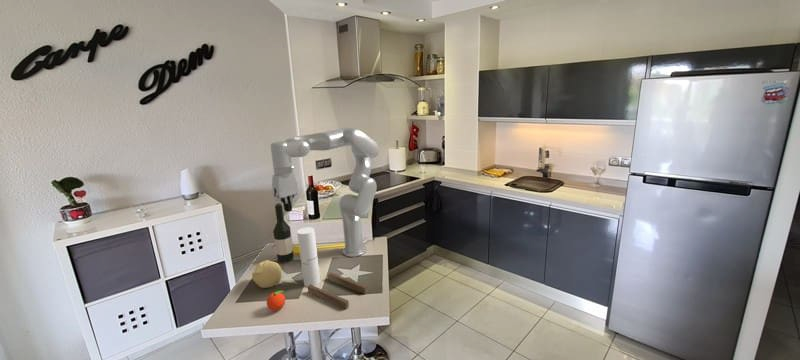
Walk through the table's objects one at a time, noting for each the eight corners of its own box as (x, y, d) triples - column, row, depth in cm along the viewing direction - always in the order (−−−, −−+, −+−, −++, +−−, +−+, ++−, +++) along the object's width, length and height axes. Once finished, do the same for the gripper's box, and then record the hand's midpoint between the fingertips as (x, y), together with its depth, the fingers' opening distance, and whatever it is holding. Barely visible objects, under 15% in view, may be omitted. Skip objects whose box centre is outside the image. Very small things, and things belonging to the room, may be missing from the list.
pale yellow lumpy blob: (261, 277, 154) (257, 256, 151) (286, 276, 154) (283, 255, 151) (250, 291, 143) (246, 269, 140) (278, 290, 143) (274, 268, 140)
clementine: (282, 300, 136) (280, 284, 134) (292, 306, 131) (289, 290, 129) (264, 310, 130) (261, 294, 128) (273, 316, 125) (271, 300, 124)
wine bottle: (289, 263, 166) (281, 207, 158) (274, 262, 167) (265, 206, 160) (297, 255, 173) (290, 201, 166) (283, 254, 175) (275, 201, 167)
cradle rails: (330, 278, 150) (329, 272, 150) (367, 292, 138) (367, 286, 138) (308, 292, 140) (307, 286, 139) (346, 309, 128) (345, 302, 127)
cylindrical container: (320, 284, 146) (314, 232, 139) (304, 287, 144) (297, 235, 137) (319, 276, 152) (313, 226, 146) (303, 279, 150) (297, 228, 144)
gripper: (291, 166, 149) (296, 204, 153) (262, 173, 137) (268, 214, 141) (302, 167, 144) (307, 207, 149) (273, 175, 133) (279, 217, 137)
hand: (288, 210), depth 145 cm, fingers closed
